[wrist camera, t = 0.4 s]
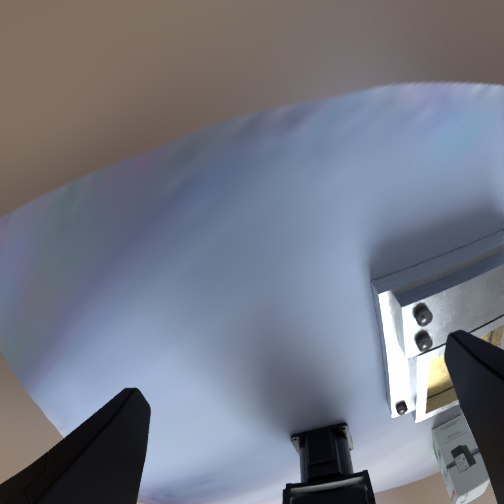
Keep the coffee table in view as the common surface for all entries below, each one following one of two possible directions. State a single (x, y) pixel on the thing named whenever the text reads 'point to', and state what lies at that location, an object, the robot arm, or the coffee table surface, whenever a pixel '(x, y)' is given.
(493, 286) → the gearbox
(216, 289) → the coffee table surface
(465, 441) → the ink box
